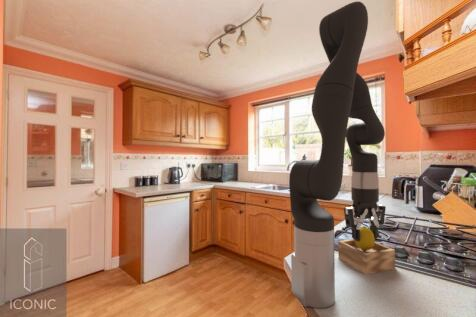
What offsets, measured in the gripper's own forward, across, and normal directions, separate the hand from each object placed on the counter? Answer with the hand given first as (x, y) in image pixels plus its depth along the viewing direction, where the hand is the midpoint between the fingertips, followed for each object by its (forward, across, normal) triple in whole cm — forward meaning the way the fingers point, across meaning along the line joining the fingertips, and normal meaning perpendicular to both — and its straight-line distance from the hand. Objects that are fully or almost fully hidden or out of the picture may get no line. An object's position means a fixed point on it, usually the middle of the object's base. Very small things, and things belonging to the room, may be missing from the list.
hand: (365, 239), depth 72 cm
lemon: (+4, 0, 0) cm, 4 cm away
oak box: (+8, 0, 0) cm, 8 cm away
